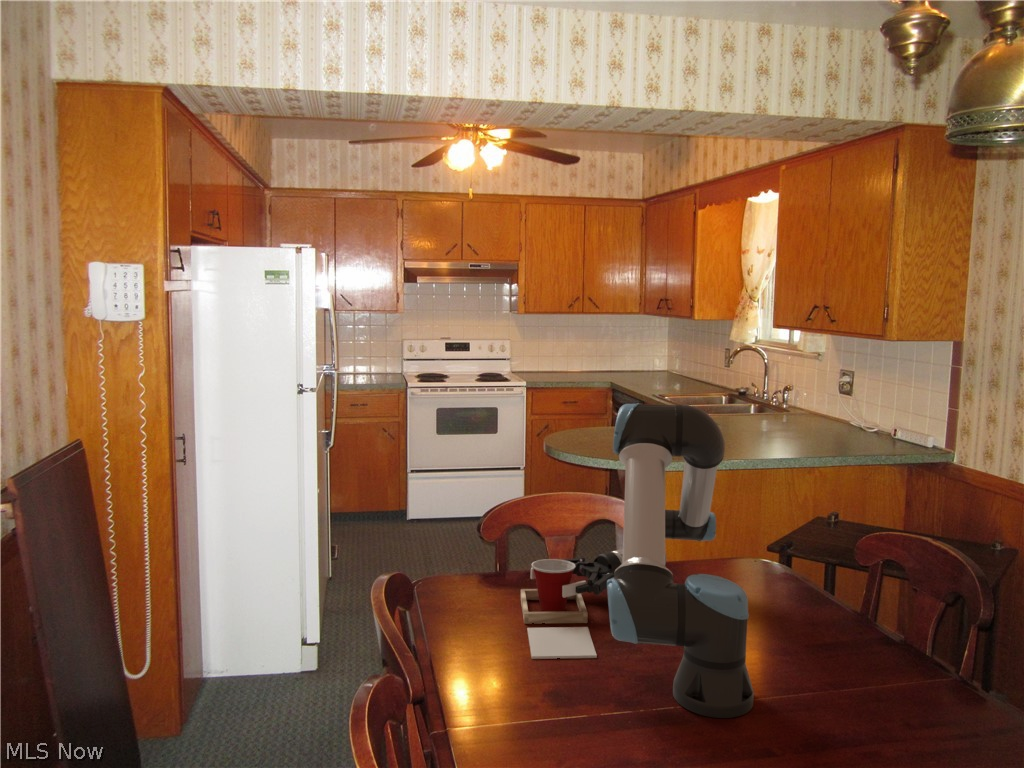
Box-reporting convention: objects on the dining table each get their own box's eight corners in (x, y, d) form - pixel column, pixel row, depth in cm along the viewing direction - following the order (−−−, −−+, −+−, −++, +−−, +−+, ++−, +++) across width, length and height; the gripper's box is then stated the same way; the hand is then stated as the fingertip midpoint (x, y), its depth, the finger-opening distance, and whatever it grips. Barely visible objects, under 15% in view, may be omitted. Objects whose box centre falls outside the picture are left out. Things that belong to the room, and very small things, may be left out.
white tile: (596, 657, 167) (596, 655, 167) (531, 658, 167) (531, 656, 167) (587, 629, 181) (587, 626, 181) (527, 630, 181) (527, 627, 181)
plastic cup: (575, 602, 197) (576, 556, 195) (574, 620, 186) (575, 572, 185) (532, 600, 198) (532, 554, 196) (529, 618, 187) (529, 570, 186)
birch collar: (587, 622, 185) (587, 612, 184) (524, 623, 184) (524, 613, 184) (579, 597, 200) (579, 588, 199) (520, 598, 199) (520, 589, 199)
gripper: (646, 596, 192) (577, 615, 180) (584, 565, 212) (518, 580, 201) (647, 567, 191) (578, 584, 179) (584, 538, 211) (519, 552, 200)
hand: (546, 582), depth 190 cm, fingers open, 13 cm apart
